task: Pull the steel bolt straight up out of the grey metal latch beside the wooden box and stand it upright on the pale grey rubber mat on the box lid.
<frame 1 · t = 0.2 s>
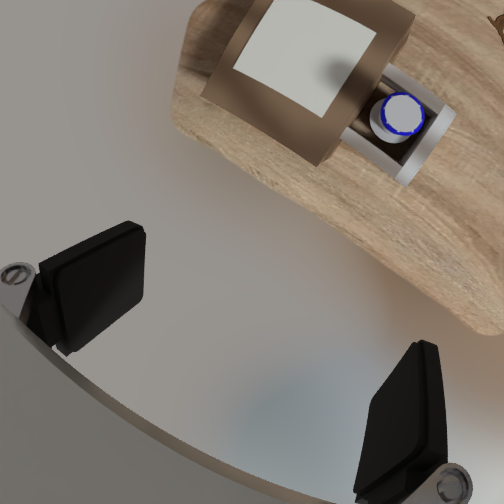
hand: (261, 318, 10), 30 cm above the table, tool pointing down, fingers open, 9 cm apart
lid mat: (302, 48, 24), resting on wooden box
wooden box: (319, 66, 31), on the table
bolt: (390, 121, 31), resting in wooden box
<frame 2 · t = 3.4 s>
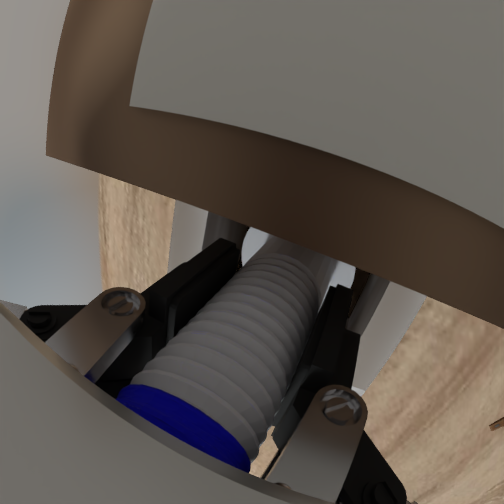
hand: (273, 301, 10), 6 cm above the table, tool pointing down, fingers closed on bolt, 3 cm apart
wooden box: (389, 46, 11), on the table
bolt: (312, 238, 16), resting in wooden box, touching gripper
when the fingers open (17 cm above the table, at t = 9.1 s): bolt drops 1 cm, resting on lid mat.
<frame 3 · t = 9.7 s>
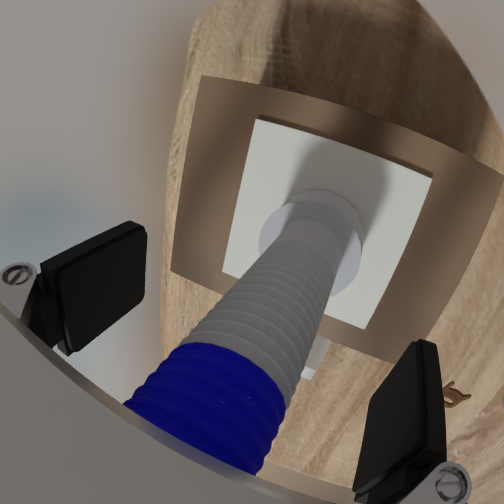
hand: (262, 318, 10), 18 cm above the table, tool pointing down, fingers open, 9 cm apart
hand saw: (385, 423, 33), on the table
lid mat: (318, 228, 17), resting on wooden box
wooden box: (336, 196, 25), on the table
bolt: (320, 231, 17), point 9 cm above the table, touching lid mat
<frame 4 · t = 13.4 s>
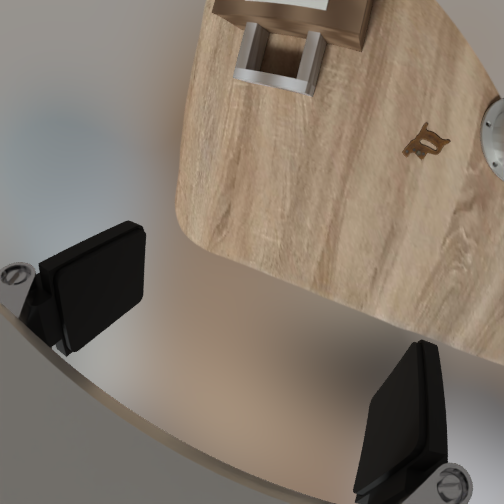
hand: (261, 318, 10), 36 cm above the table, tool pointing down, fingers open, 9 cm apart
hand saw: (384, 185, 40), on the table
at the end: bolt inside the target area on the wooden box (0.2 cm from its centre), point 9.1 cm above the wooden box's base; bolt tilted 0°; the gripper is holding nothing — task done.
